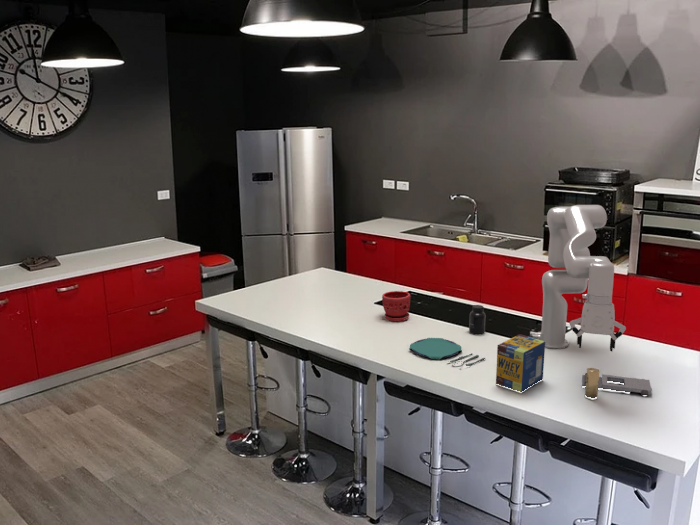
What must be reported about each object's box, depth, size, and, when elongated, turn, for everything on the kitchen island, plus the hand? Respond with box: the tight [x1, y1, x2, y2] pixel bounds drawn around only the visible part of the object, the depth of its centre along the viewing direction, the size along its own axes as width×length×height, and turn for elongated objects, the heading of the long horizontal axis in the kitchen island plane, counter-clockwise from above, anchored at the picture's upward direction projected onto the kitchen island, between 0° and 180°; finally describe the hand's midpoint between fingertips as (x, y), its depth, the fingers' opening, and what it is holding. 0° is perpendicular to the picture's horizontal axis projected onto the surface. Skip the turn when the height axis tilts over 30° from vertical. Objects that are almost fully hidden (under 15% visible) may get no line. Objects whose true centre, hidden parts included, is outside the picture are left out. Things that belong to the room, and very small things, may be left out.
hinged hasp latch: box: [581, 372, 652, 396], centre depth 219 cm, size 22×10×2 cm, turn 69°
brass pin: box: [584, 367, 601, 398], centre depth 211 cm, size 4×4×10 cm
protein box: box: [495, 333, 546, 392], centre depth 223 cm, size 10×15×16 cm
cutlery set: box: [409, 337, 486, 367], centre depth 251 cm, size 20×30×2 cm, turn 37°
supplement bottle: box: [468, 304, 487, 335], centre depth 274 cm, size 7×7×12 cm
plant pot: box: [381, 290, 411, 322], centre depth 293 cm, size 13×13×12 cm
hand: (595, 348), depth 208 cm, fingers open, 9 cm apart
